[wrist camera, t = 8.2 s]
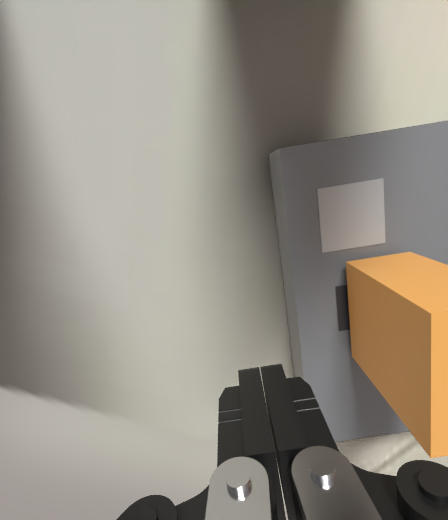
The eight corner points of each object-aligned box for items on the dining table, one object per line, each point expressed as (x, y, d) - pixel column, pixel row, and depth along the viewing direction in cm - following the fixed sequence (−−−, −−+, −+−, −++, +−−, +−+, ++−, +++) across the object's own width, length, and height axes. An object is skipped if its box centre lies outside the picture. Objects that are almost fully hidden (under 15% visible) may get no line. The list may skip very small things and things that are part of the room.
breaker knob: (351, 356, 16) (430, 458, 10) (345, 261, 15) (431, 313, 9) (411, 347, 16) (525, 444, 10) (409, 251, 14) (539, 297, 9)
